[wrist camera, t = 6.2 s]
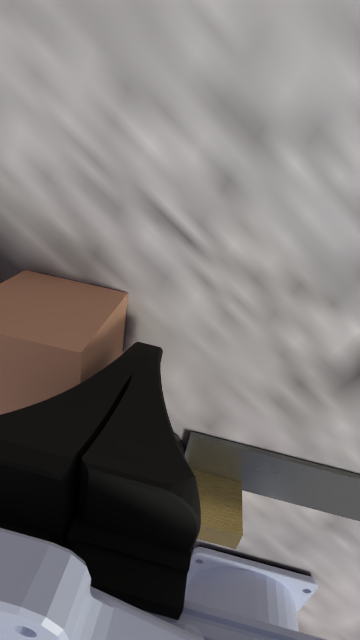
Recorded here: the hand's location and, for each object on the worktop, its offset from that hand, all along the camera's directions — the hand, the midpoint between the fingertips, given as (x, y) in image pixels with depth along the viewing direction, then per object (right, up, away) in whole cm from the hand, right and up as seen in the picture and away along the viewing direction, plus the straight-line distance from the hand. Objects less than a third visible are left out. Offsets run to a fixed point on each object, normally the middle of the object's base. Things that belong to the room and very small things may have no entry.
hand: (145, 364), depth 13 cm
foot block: (-3, +1, +1) cm, 4 cm away
